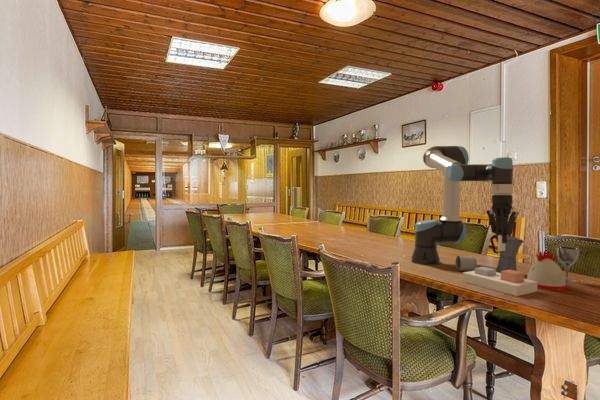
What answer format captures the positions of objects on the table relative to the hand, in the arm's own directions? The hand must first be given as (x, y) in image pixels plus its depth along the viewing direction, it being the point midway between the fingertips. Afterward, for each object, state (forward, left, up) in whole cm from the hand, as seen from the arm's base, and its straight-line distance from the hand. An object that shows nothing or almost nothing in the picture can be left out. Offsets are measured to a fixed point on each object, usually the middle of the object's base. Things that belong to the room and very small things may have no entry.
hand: (501, 250), depth 149 cm
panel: (-2, +1, -16) cm, 16 cm away
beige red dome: (+7, +20, -16) cm, 26 cm away
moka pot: (-15, +27, -16) cm, 34 cm away
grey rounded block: (-8, +1, -13) cm, 15 cm away
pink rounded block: (+4, +1, -12) cm, 12 cm away
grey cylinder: (-28, +13, -16) cm, 34 cm away
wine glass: (+7, +37, -16) cm, 40 cm away
